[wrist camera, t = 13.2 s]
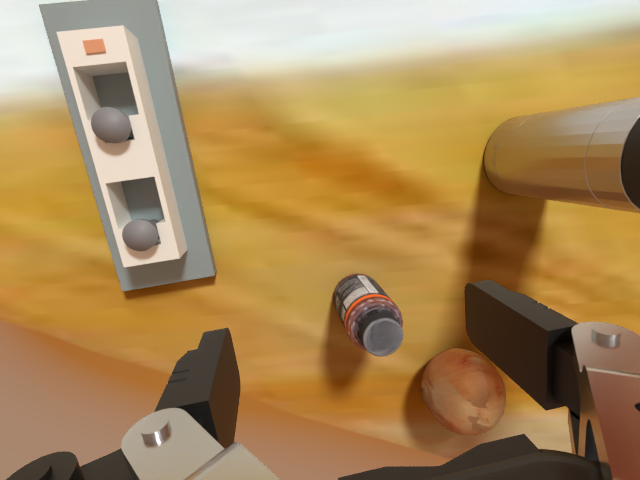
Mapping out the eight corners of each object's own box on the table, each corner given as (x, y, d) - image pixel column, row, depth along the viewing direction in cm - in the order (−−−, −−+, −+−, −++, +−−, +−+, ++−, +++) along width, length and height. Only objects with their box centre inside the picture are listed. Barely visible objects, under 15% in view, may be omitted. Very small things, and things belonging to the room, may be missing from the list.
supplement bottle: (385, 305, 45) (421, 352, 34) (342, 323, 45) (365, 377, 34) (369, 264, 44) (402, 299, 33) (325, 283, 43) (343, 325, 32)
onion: (483, 383, 50) (534, 437, 40) (418, 408, 50) (454, 469, 40) (470, 325, 48) (521, 367, 38) (401, 350, 47) (435, 400, 37)
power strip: (137, 38, 34) (122, 24, 30) (187, 249, 39) (179, 258, 35) (78, 44, 33) (55, 31, 30) (136, 257, 38) (123, 268, 35)
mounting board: (157, 1, 34) (134, -31, 29) (216, 271, 41) (207, 290, 35) (48, 11, 33) (1, -20, 28) (127, 286, 40) (103, 308, 34)
